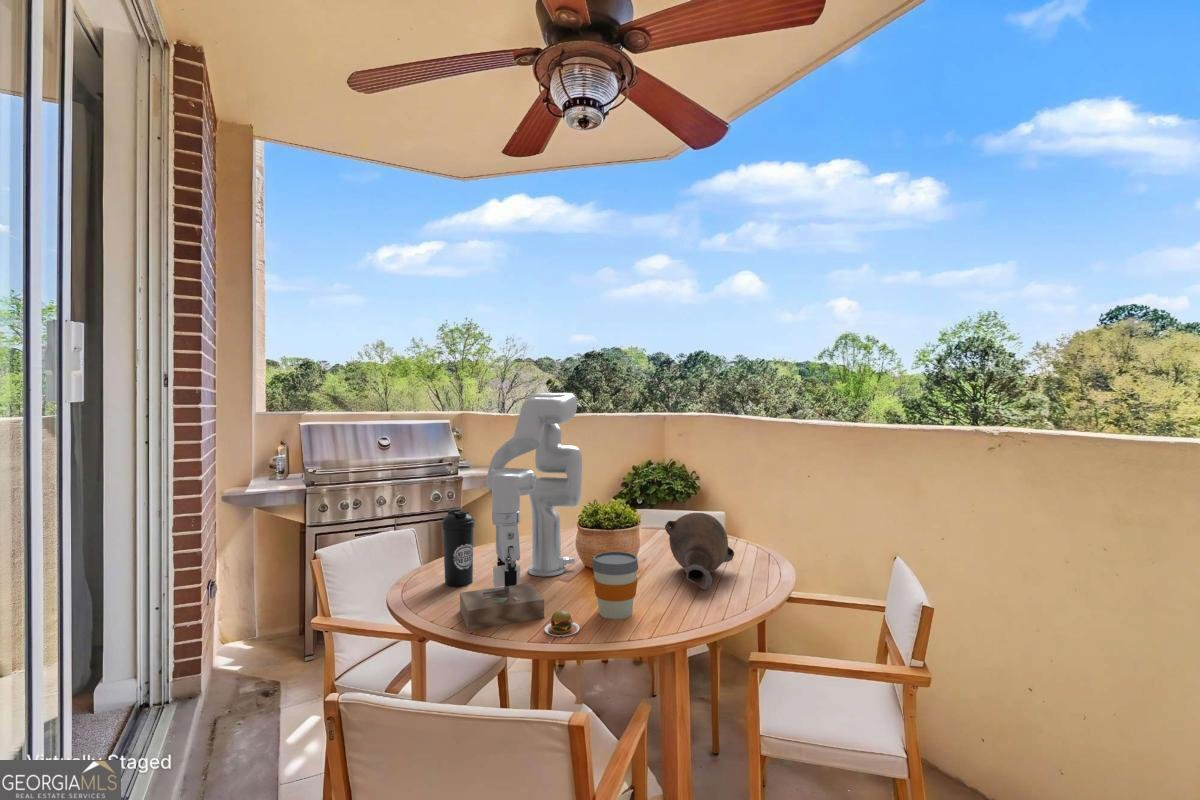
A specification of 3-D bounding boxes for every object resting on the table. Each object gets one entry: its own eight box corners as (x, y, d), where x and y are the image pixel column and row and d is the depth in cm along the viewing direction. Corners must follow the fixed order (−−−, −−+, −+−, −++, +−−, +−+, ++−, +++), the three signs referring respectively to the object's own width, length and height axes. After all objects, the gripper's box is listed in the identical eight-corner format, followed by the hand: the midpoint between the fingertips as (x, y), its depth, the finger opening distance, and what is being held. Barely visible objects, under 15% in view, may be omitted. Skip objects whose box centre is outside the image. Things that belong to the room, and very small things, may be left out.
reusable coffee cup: (611, 600, 162) (611, 548, 162) (647, 611, 154) (647, 556, 154) (583, 614, 152) (582, 558, 152) (620, 625, 144) (619, 567, 144)
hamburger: (595, 630, 143) (595, 609, 143) (564, 647, 134) (563, 624, 134) (560, 619, 151) (560, 598, 151) (528, 634, 141) (528, 612, 141)
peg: (518, 588, 157) (518, 563, 157) (520, 590, 155) (520, 565, 155) (482, 593, 154) (481, 567, 154) (483, 596, 152) (483, 570, 152)
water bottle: (450, 590, 172) (450, 515, 171) (437, 582, 179) (436, 510, 179) (480, 583, 178) (480, 510, 178) (466, 575, 186) (465, 505, 186)
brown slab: (530, 600, 163) (530, 582, 163) (544, 617, 150) (544, 598, 150) (460, 610, 155) (459, 591, 155) (468, 630, 142) (467, 609, 142)
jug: (679, 560, 201) (669, 604, 173) (667, 508, 199) (654, 545, 170) (736, 552, 195) (735, 597, 167) (724, 499, 193) (721, 535, 164)
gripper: (527, 522, 148) (528, 588, 148) (512, 510, 164) (512, 569, 165) (499, 525, 145) (499, 592, 146) (486, 512, 162) (487, 572, 162)
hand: (506, 580), depth 155 cm, fingers open, 8 cm apart
